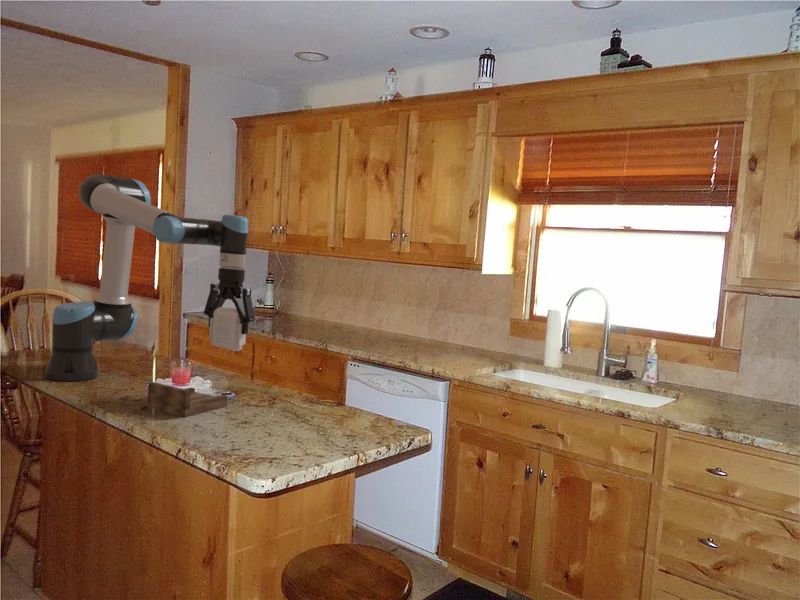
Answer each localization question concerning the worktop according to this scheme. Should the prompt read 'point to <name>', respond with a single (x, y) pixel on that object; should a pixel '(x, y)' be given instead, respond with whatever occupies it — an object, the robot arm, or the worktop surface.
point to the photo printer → (225, 328)
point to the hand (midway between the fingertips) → (227, 341)
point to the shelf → (181, 400)
